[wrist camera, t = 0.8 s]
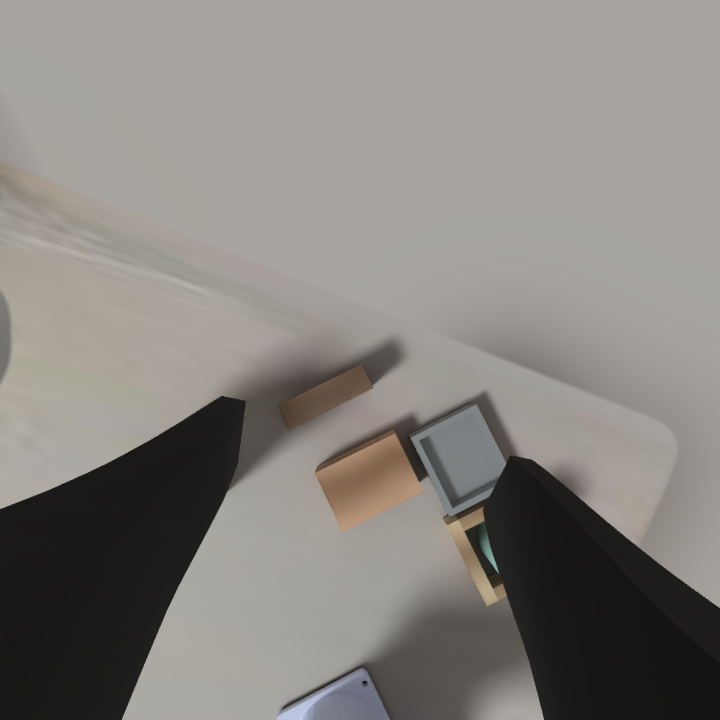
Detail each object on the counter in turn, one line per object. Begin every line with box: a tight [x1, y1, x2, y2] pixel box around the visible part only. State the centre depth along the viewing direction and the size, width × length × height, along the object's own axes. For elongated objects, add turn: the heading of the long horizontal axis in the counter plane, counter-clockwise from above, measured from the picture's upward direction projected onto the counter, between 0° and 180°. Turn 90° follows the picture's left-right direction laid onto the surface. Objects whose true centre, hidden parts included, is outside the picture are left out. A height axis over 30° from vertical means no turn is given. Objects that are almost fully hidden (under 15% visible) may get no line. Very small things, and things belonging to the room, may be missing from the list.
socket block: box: [443, 497, 507, 606], centre depth 30 cm, size 7×7×2 cm
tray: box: [408, 403, 507, 517], centre depth 30 cm, size 7×6×2 cm
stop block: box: [278, 364, 373, 430], centre depth 29 cm, size 2×7×4 cm, turn 116°
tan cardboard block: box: [315, 430, 423, 531], centre depth 29 cm, size 5×7×2 cm
